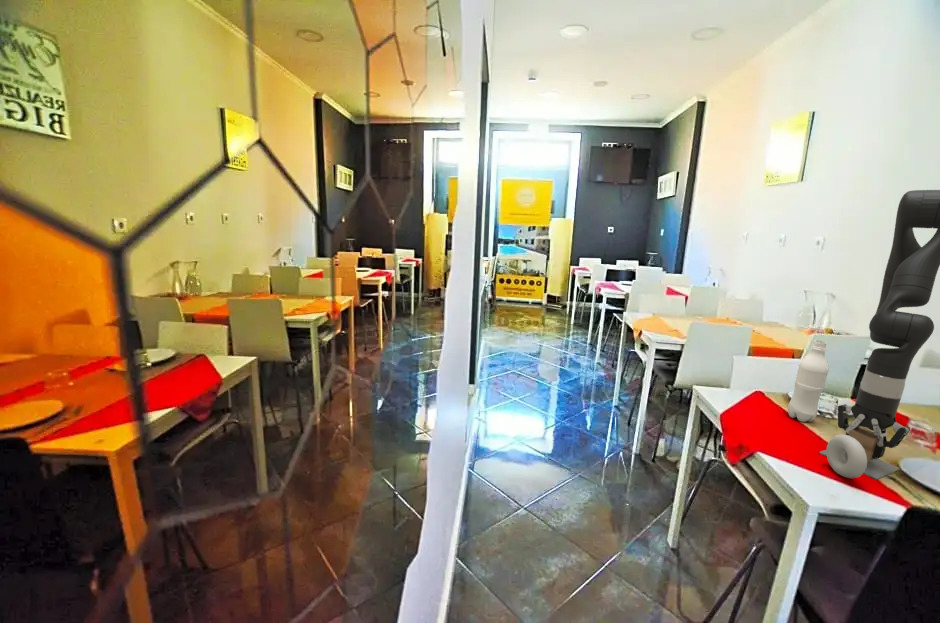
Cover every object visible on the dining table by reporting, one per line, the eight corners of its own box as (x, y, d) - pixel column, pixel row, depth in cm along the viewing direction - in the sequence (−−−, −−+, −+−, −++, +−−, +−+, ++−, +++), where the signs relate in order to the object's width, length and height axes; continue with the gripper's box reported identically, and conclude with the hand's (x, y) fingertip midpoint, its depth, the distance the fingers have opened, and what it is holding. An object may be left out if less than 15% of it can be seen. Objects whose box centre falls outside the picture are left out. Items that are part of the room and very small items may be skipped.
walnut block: (853, 447, 112) (860, 426, 110) (877, 457, 107) (884, 436, 106) (843, 451, 110) (850, 430, 108) (867, 461, 105) (874, 440, 104)
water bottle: (819, 425, 127) (842, 346, 122) (793, 421, 129) (813, 343, 123) (806, 414, 134) (826, 339, 128) (781, 411, 136) (800, 336, 130)
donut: (818, 461, 108) (828, 426, 105) (833, 463, 107) (843, 427, 105) (848, 486, 98) (860, 447, 96) (864, 488, 98) (876, 449, 95)
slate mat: (843, 444, 117) (843, 443, 117) (900, 469, 106) (900, 468, 106) (819, 453, 112) (819, 452, 112) (876, 479, 101) (876, 478, 101)
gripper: (927, 401, 100) (905, 464, 104) (853, 378, 112) (836, 435, 116) (912, 405, 96) (890, 471, 100) (837, 381, 109) (821, 440, 113)
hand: (861, 451), depth 108 cm, fingers closed on walnut block, 5 cm apart
